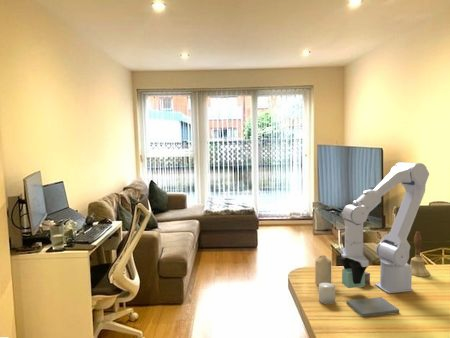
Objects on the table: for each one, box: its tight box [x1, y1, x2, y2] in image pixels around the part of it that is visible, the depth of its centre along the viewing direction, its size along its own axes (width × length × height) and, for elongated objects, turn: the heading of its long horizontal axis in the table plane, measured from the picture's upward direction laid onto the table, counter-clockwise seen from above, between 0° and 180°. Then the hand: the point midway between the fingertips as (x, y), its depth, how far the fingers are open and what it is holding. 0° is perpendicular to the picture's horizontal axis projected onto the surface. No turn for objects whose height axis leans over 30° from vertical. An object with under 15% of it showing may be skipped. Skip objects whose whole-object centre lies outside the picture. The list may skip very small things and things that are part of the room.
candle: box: [314, 255, 332, 286], centre depth 131 cm, size 6×6×10 cm
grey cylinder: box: [318, 282, 336, 305], centre depth 118 cm, size 5×5×5 cm
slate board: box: [346, 296, 400, 318], centre depth 112 cm, size 12×9×1 cm
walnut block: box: [365, 270, 371, 286], centre depth 132 cm, size 5×5×4 cm
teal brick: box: [341, 268, 366, 289], centre depth 123 cm, size 6×4×5 cm, turn 101°
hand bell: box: [409, 231, 430, 277], centre depth 140 cm, size 8×8×16 cm
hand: (353, 280), depth 123 cm, fingers closed on teal brick, 4 cm apart
